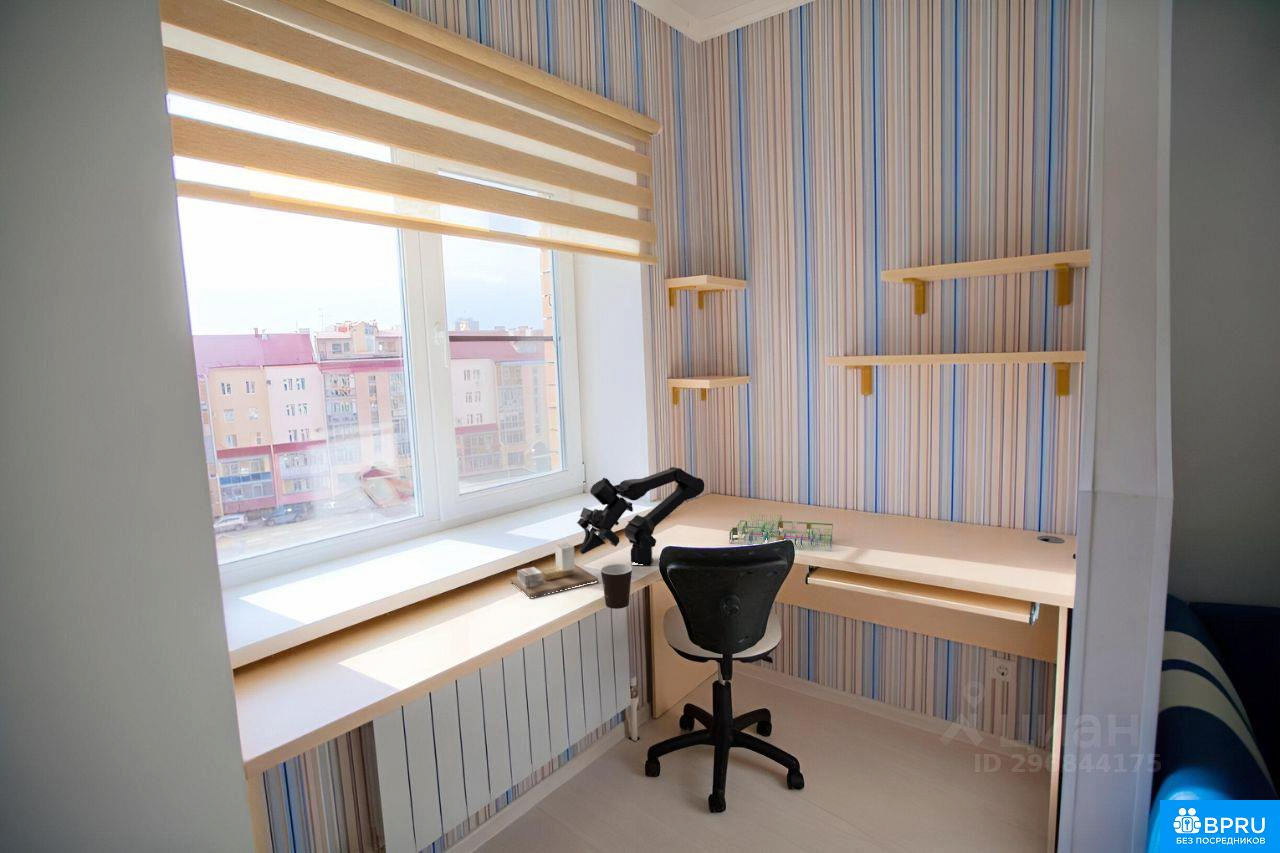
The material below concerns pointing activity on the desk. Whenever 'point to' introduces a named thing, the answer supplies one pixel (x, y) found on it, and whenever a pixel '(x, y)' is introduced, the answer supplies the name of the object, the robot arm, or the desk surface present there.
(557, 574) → the white boxy piece
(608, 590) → the coffee mug
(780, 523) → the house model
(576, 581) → the lock plate
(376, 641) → the desk surface
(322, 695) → the desk surface
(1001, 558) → the desk surface
